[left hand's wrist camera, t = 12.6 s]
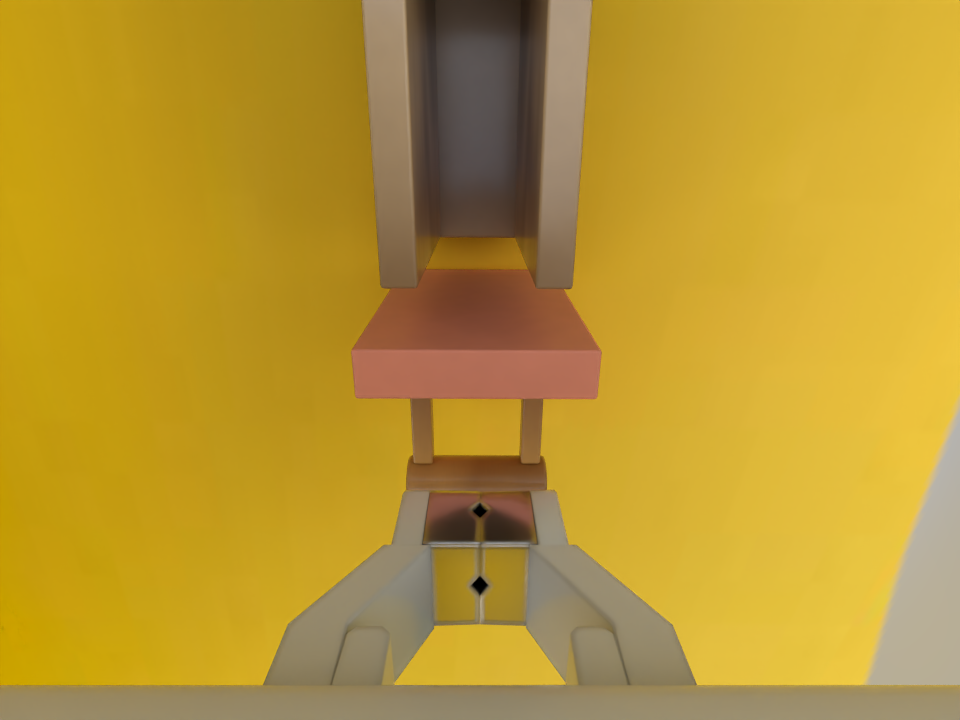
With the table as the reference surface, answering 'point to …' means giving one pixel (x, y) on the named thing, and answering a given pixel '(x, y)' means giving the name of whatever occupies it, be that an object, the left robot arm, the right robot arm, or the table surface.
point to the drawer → (476, 218)
